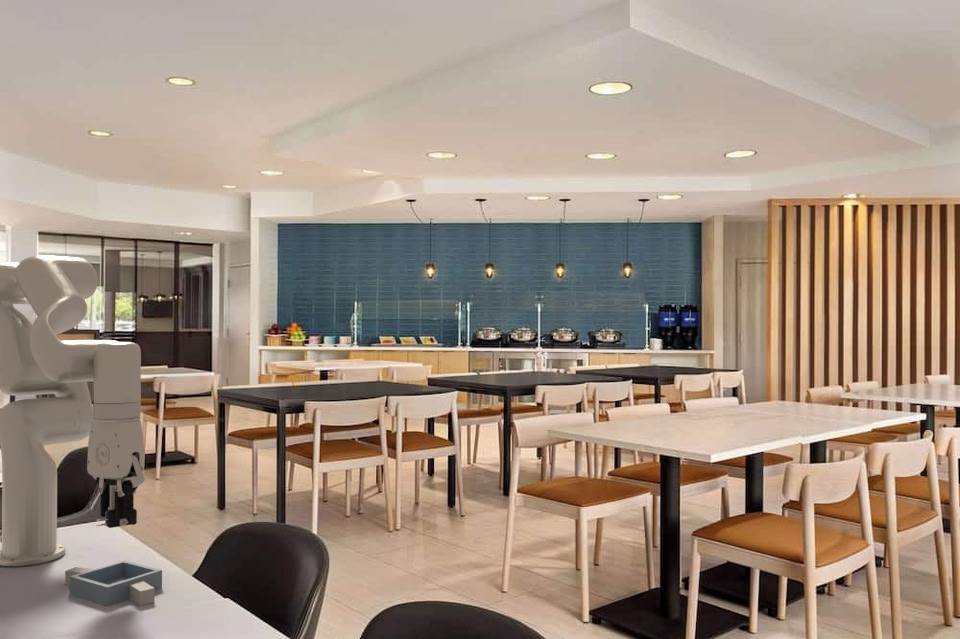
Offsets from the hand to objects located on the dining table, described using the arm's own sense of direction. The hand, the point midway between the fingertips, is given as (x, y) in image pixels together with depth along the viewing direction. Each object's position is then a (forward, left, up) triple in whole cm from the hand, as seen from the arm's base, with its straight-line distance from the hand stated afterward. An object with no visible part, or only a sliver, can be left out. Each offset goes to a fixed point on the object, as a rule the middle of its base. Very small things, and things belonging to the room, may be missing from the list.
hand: (117, 515), depth 138 cm
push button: (0, 0, -2) cm, 2 cm away
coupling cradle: (0, 0, -13) cm, 13 cm away
